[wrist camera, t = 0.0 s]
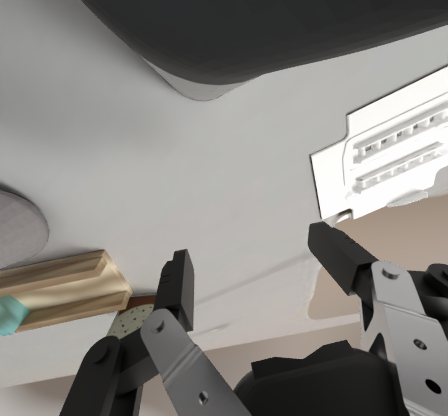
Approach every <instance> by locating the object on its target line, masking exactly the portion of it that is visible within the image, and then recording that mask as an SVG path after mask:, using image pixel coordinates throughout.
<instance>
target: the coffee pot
mask: <svg viewBox="0 0 448 416" xmlns="http://www.w3.org/2000/svg"><path fill="white" fill-rule="evenodd" d="M48 238H49V227H48V224H47V221H46V219H45V218H44V216H43V214H42V212H41V211H40V210H39V209H38V208H37V207H36V206H35V205H34V204H32V203H31V202H29V201H28V200H26V199H24V198H22V197H20V196H17V195H14V194H12V193H9V192H5V191H2V190H0V269H1V268H4V267H7V266H9V265H12V264H14V263H17V262H19V261H22V260H24V259H27V258H29V257H32V256H34V255H36V254H37V253H39V252H40V251H42V250H43V248H44V247H45V245H46V244H47V242H48Z"/></svg>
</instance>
